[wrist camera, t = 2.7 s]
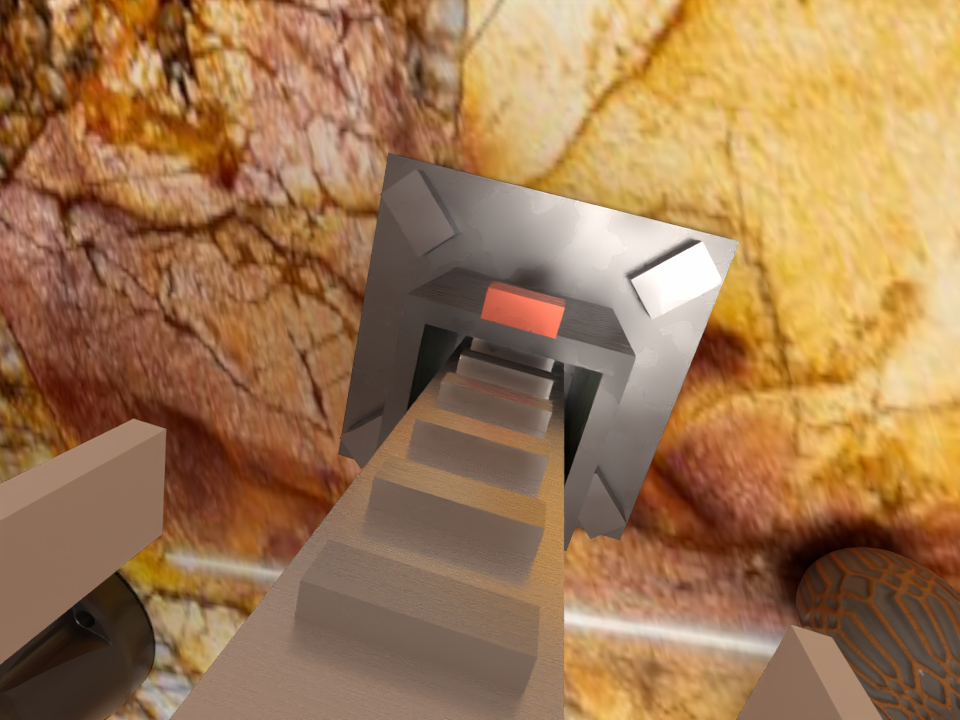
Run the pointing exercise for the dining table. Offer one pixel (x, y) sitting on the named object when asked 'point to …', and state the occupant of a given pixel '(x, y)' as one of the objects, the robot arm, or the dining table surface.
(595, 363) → the stand base
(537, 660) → the column
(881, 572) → the vase
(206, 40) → the dining table surface
